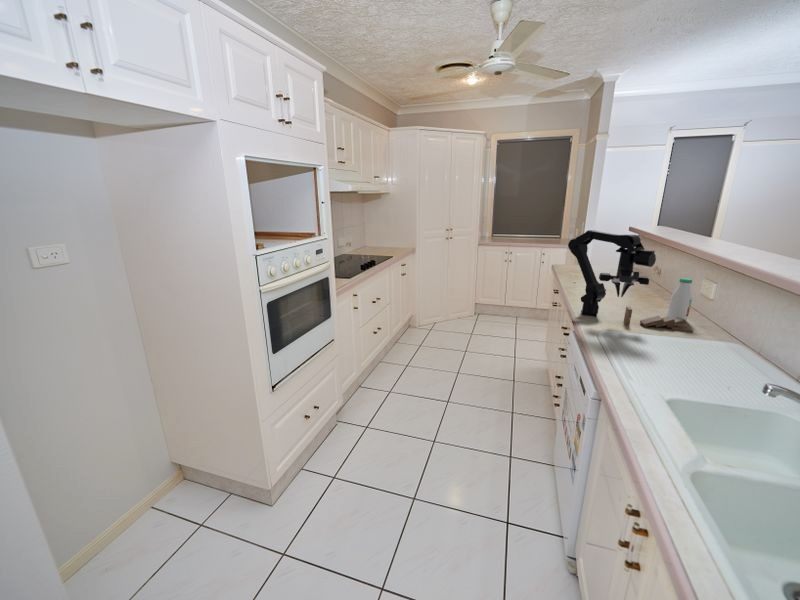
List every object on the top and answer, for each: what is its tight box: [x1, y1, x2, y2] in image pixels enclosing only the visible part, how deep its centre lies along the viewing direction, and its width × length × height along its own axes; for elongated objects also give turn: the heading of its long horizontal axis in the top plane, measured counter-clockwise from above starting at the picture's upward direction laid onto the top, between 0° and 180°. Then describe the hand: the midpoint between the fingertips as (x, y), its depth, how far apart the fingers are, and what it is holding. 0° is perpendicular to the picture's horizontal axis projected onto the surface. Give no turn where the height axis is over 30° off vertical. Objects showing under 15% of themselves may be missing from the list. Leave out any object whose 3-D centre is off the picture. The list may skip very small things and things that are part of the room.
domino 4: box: [663, 317, 687, 329], centre depth 158 cm, size 2×5×8 cm
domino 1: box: [623, 305, 633, 326], centre depth 161 cm, size 2×5×8 cm, turn 157°
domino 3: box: [652, 315, 675, 328], centre depth 158 cm, size 2×5×8 cm
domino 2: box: [639, 315, 664, 328], centre depth 159 cm, size 2×5×8 cm
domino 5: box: [669, 325, 694, 333], centre depth 156 cm, size 2×5×8 cm
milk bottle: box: [666, 277, 693, 322], centre depth 166 cm, size 8×8×20 cm
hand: (619, 296), depth 161 cm, fingers closed
